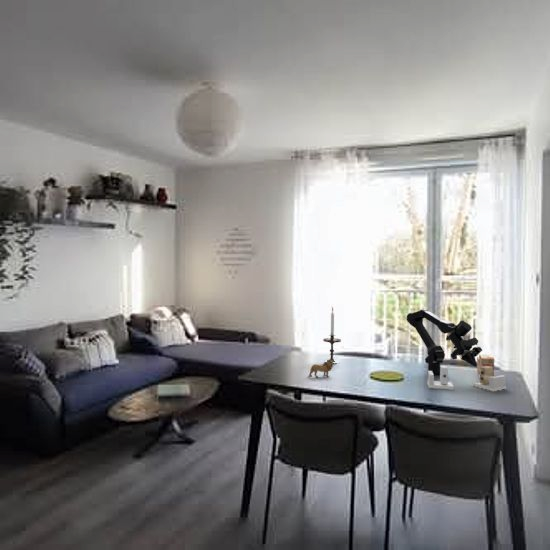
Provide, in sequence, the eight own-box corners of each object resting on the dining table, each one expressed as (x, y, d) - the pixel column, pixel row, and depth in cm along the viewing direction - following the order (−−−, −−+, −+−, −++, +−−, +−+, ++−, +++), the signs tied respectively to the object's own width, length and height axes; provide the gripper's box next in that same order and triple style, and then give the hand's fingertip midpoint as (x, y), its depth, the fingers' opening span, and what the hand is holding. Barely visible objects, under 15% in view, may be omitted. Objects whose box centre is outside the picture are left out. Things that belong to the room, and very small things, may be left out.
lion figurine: (330, 374, 264) (330, 358, 264) (335, 376, 259) (335, 360, 259) (306, 376, 258) (306, 359, 258) (310, 378, 253) (310, 361, 253)
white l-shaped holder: (472, 386, 242) (472, 373, 242) (485, 384, 247) (485, 371, 247) (493, 391, 232) (493, 378, 232) (506, 389, 237) (506, 376, 237)
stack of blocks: (476, 372, 276) (477, 351, 276) (488, 373, 274) (489, 352, 274) (481, 380, 256) (481, 357, 255) (493, 381, 254) (494, 358, 254)
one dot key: (446, 381, 243) (446, 365, 243) (447, 384, 237) (448, 368, 237) (439, 381, 244) (440, 365, 244) (441, 383, 238) (441, 367, 238)
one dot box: (450, 384, 245) (451, 372, 245) (453, 389, 235) (453, 376, 235) (427, 383, 247) (427, 370, 247) (428, 387, 238) (429, 374, 237)
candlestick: (320, 361, 302) (321, 305, 302) (336, 360, 305) (337, 305, 304) (326, 364, 292) (327, 307, 291) (343, 364, 294) (344, 306, 294)
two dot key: (479, 383, 241) (479, 367, 241) (487, 381, 244) (487, 366, 244) (484, 384, 238) (484, 368, 238) (492, 383, 242) (493, 367, 241)
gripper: (455, 333, 247) (473, 358, 237) (479, 331, 256) (497, 355, 246) (443, 346, 253) (460, 371, 244) (466, 344, 263) (484, 368, 253)
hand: (476, 366), depth 247 cm, fingers closed
